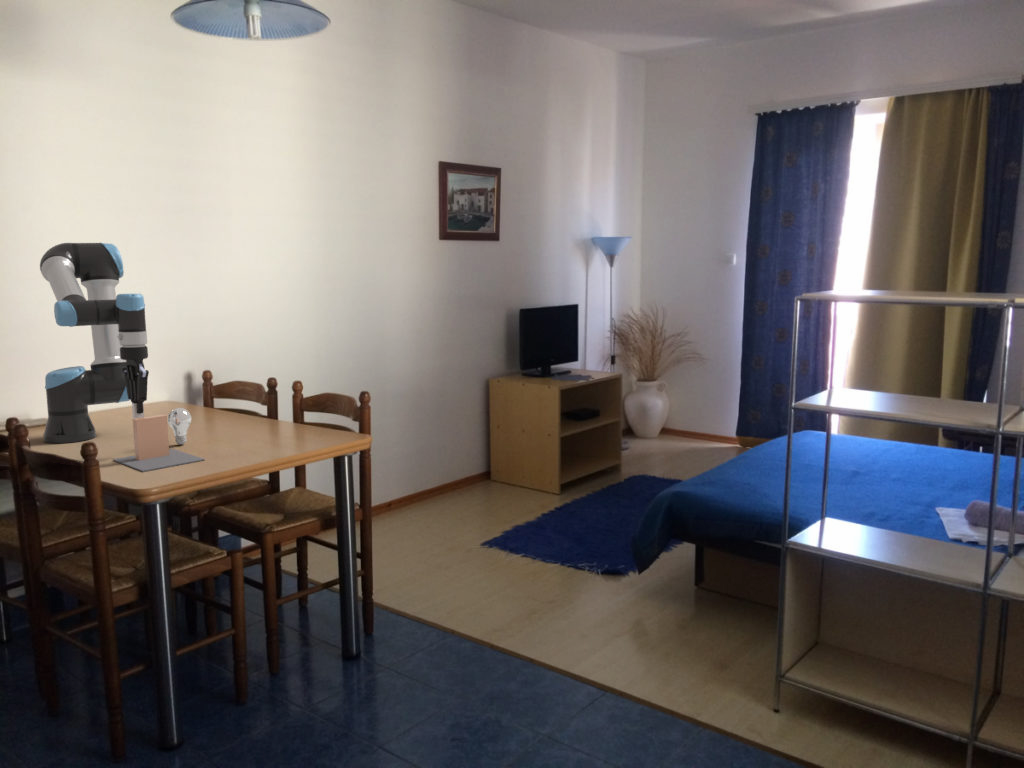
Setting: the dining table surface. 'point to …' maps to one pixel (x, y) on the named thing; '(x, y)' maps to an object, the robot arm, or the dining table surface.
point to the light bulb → (179, 424)
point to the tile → (151, 437)
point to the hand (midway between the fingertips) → (139, 423)
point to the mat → (159, 461)
